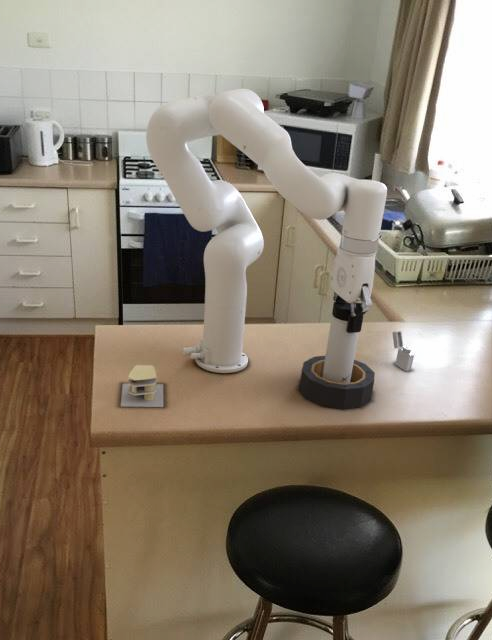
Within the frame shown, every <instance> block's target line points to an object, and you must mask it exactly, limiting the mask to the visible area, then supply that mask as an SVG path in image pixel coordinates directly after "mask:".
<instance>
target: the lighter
mask: <svg viewBox="0 0 492 640" xmlns="http://www.w3.org/2000/svg"><path fill="white" fill-rule="evenodd" d="M391 335H392V341H393V348H394V349H397V352H396V353H397V354H396V358H395V364H394V365H395V366H397V367H399V368H400V369H402V370H403V371H404V372H409V371H411V370H412V368H413V361H414V359H415V353H413V352H412V348H410V347H409V346H407V345H404V341H403V333H402V330H395V331H392V333H391Z"/></svg>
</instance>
